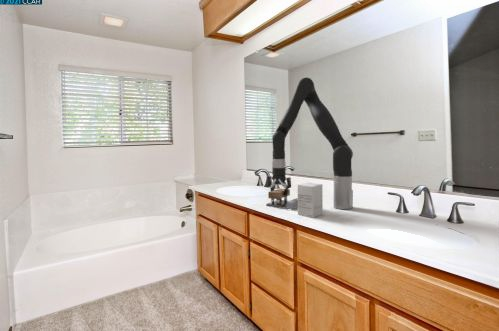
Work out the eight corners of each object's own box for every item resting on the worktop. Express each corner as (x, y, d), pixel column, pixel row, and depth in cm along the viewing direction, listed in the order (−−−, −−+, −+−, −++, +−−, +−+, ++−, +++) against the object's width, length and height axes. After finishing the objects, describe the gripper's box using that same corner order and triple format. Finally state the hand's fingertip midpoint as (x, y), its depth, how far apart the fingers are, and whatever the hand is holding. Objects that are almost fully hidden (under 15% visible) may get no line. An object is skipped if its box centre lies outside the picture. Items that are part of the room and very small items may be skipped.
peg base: (291, 203, 162) (291, 195, 161) (280, 207, 150) (280, 199, 150) (278, 201, 167) (278, 194, 167) (266, 205, 156) (266, 197, 155)
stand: (298, 204, 158) (298, 197, 157) (303, 205, 156) (303, 198, 156) (286, 209, 146) (286, 201, 146) (292, 210, 144) (292, 202, 144)
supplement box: (307, 211, 141) (307, 182, 140) (323, 214, 135) (323, 184, 134) (297, 214, 135) (297, 184, 134) (312, 217, 129) (312, 186, 128)
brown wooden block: (280, 194, 166) (280, 188, 165) (289, 195, 162) (289, 189, 162) (268, 198, 154) (268, 192, 154) (278, 199, 151) (278, 193, 151)
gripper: (293, 166, 156) (293, 195, 157) (271, 166, 164) (271, 192, 165) (286, 167, 150) (287, 197, 151) (264, 166, 158) (265, 194, 159)
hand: (279, 194), depth 158 cm, fingers open, 8 cm apart
